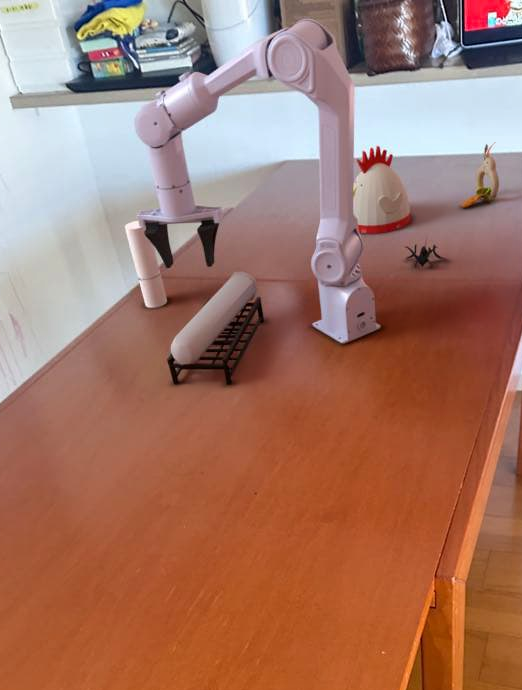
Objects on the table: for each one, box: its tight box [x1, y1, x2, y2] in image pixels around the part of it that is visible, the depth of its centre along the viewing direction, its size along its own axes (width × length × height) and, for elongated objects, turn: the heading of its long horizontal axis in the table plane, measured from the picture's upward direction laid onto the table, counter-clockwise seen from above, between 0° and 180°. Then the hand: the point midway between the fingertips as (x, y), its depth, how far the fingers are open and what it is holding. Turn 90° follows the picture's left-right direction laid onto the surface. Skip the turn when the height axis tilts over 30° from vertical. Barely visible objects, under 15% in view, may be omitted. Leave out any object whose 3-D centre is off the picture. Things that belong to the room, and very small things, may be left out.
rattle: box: [461, 143, 500, 209], centre depth 163 cm, size 8×8×12 cm
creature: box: [404, 236, 447, 268], centre depth 145 cm, size 8×5×8 cm
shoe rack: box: [166, 296, 265, 386], centre depth 128 cm, size 10×22×4 cm, turn 167°
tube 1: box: [124, 220, 168, 309], centre depth 143 cm, size 4×4×15 cm
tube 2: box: [170, 270, 258, 365], centre depth 126 cm, size 5×5×25 cm
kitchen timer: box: [353, 145, 411, 234], centre depth 161 cm, size 14×14×15 cm
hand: (190, 265), depth 132 cm, fingers open, 7 cm apart
